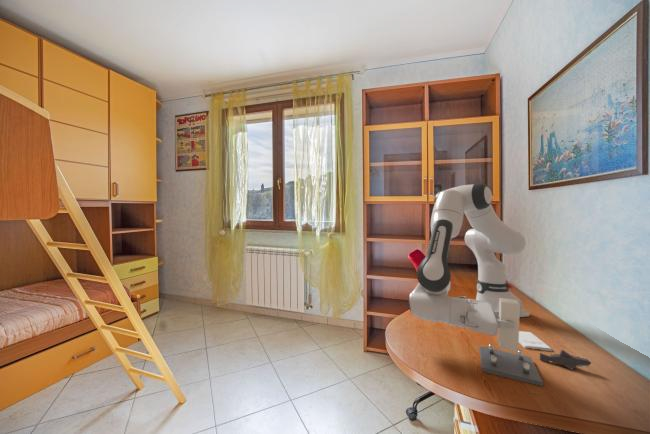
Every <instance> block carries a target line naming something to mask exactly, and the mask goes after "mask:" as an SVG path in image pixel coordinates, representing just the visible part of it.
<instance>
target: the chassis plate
mask: <svg viewBox="0 0 650 434" xmlns="http://www.w3.org/2000/svg"><path fill="white" fill-rule="evenodd" d="M478 351H479V357H480V365H481V372H483V373H487V374H490V375H494V376H499V377H502V378H507V379H509V380H510V379H511V380H516V381H519V382H522V383H523V382H524V383H527V384H530V383H531V385H534V384H536V385H535V386H538V385H540V386H539V387H542V386H543V387H544V381H543V379H542V378H541V375H540V373H539V371H538V369H537V367H536V365H535V363H534V361H533V359H532V357H531V356H526V355H525V353H524V352H525V351H523V350H521V349H518V352H517V353H513V352H509V351H504V350H501V349H500V350H499V349H495V346H494V344H492V343H489V344H488V347H484V346H481V345H480V346H479V348H478Z"/></svg>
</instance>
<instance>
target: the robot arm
mask: <svg viewBox="0 0 650 434" xmlns="http://www.w3.org/2000/svg"><path fill="white" fill-rule="evenodd" d="M433 201H434V202H433V203H434V205H433V208H432V212H431V217H430V232H431V236H430V240H429V244H428V248H427V252H426V255H425V257H424V258H423V260H422V261H421V262H420V264H419V265H418V266H417V270H416V278H417V281H418V283H417V285H416V286H415V287H414V289H413V290H412V291H411V292H410V293H408V307H409V311H410V313H411V315H413V316H414V317H415V318H418V319H421V320H424V321H429V322H434V323H445V324H446V325H448V326H450V325H451V326H453V327H460V328H464V329H466V328H467V329H468V330H470V331H472V332H476V333H479V334H483V335H488V336H498V328H512V329H513V328H514V322H513V321H509V320H506V321H504V320H500V319H499V299H500V298H505V299H512V300H517V301H518V302H519V304H520V317H519V318H524V317H525V318H526V317H530V313H529V312H528V311H527V310H526V309H524V305H523V302H522V300H521V298H519V297H518V296H516V295H515V294H514V293H512V292H511V291H510V289H511V290H514V289H515V285H514V284H512V283H508V282H506V281H507V279H506V277H507V275H506V274H507V268H506V265H505V264H504V262H502V261H501V260H499V259H498V258H497V256H496V255H495V253H497V254H502V255H504V254H505V255H512V254H513V255H514V254H515V255H516V254H517V255H518V254H520V253H521V252H523V250H524V249H525V247H526V245H527V244H526V238H525V236H524V235H523V234H522V233H521V232H519V231H517V230H515V229H513V228H511V227H509V226H508V225H507V224H506V223H505V222H503V221H502V220H501V219H500V218H499V216H498V215H497V213H496V212H495V209H494V207H493V204H492V202H493V193H492V190H491V187H490V186H488V185H487V184H485V183H483V182H480V183H479V182H478V183H477V182H476V183H474V184H463V185H458V186H454V187H450V188H448V189H447V188H446V189H442V190H440V191H438V192H437V193H436V194H435V196H434V199H433ZM464 215H465V216H466V219H467V221H468V223H469V224H470V226H471V228H469V229H468V230H467V231H466V232H465V235H464V242H465V244H466V246H467V247H468V248H469V250H471V251H472V253H473V255H474V257H475V258H476V262H477V273H478V274H477V275H478V277H477V279H476V297H475V299H473V298H467V296H464V295H463V296H462V295H459V296H458V297H455V296H449V295H448V294H449V291H450V289H451V277H452V276H451V270H450V267H449V264H448V257H449V251H450V245H451V241H452V239H454V238H456V237H457V236H458V235H459V233H460V231H461V228H462V225H463V221H464Z"/></svg>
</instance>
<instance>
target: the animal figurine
mask: <svg viewBox="0 0 650 434" xmlns="http://www.w3.org/2000/svg"><path fill="white" fill-rule="evenodd" d="M540 360H542V361H541V362H551V363H552V364H556V365H560V366H561V365H562V366H564V367H565V368H567V369H568V370H570V371H573V369H575V368H576V367H578V368H579V367H581V368H582V367H589V366H590V365H591V364H592V362H591V361H590V360H588V359H587V358H583V357H579V356H574V355H571V354H569V353H568V352H566V351H565V350H563V349H561V350H560V352H559V354H558V353H554V354H552V353H551V354H550V355H548V354H545V353H543V352H539V361H540Z"/></svg>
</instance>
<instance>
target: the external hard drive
mask: <svg viewBox="0 0 650 434" xmlns="http://www.w3.org/2000/svg"><path fill="white" fill-rule="evenodd" d="M518 344H519V345H521V346H522V348H524V347H525V348H532V349H531V350H535V349H536V350H538V349H539V351H547V352H553V348H552V347H551V346H549V345H548V344H546V343H545V342H544V341H543V340H541V339H540V338H539V337H537V335H535V334H534V333H532V332H531V331H524V330H519V342H518ZM525 348H524V349H525Z"/></svg>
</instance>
